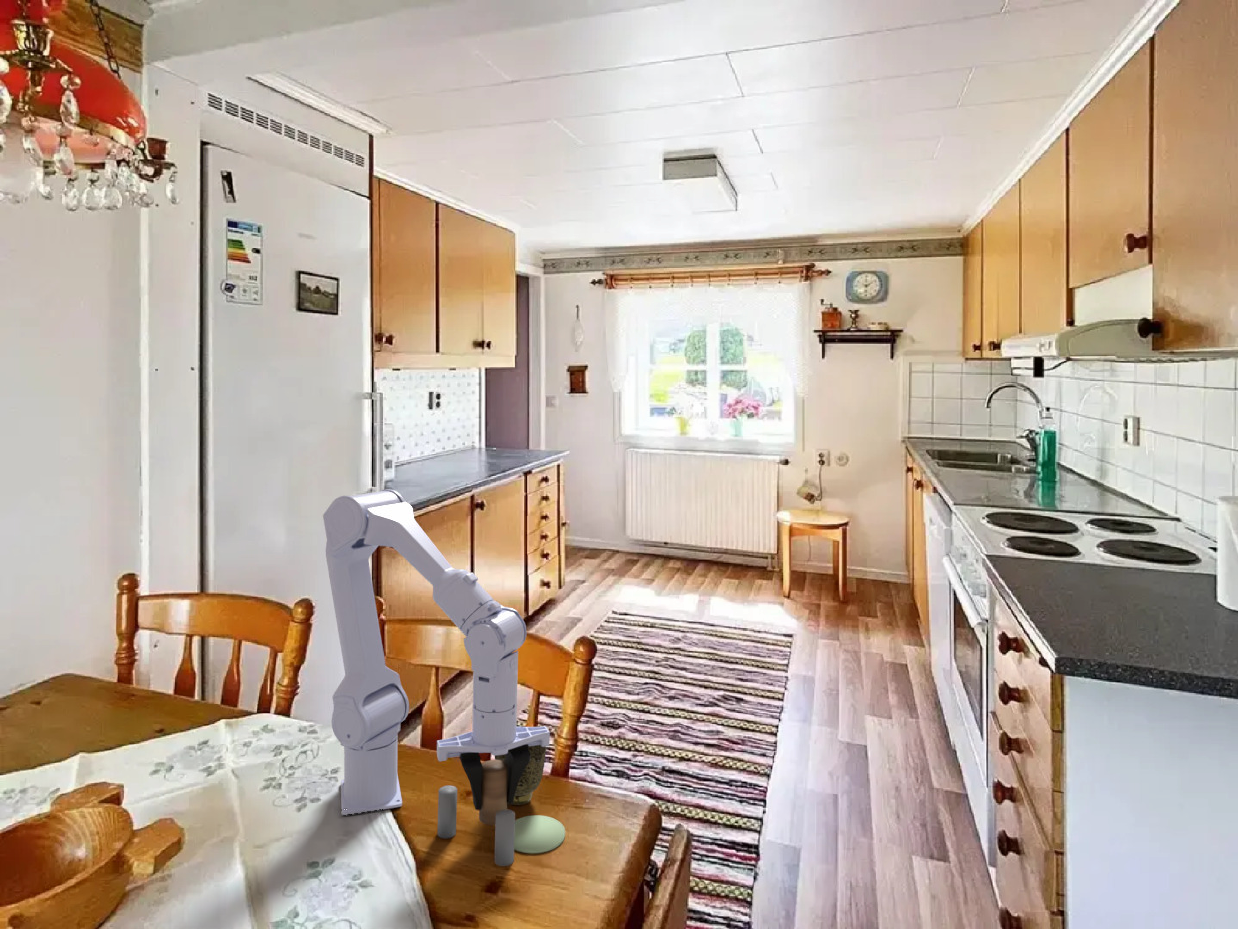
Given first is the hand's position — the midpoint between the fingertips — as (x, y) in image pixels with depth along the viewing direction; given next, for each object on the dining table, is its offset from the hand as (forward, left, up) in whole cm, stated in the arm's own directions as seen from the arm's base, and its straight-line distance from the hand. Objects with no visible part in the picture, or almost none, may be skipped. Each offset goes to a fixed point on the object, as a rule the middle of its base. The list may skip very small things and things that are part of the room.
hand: (493, 803), depth 98 cm
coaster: (+2, +5, -4) cm, 7 cm away
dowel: (0, 0, -2) cm, 2 cm away
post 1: (-2, -6, -4) cm, 8 cm away
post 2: (+6, 0, -4) cm, 7 cm away
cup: (-7, +5, -5) cm, 10 cm away
